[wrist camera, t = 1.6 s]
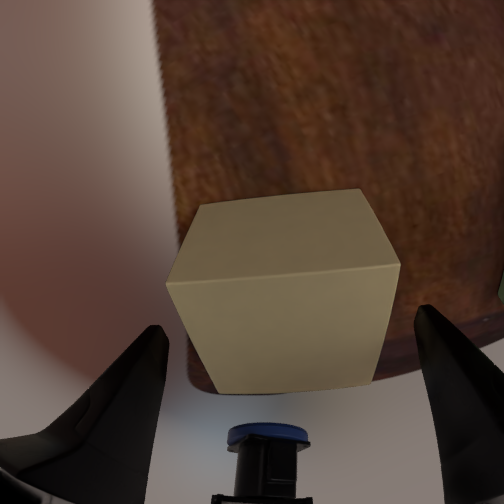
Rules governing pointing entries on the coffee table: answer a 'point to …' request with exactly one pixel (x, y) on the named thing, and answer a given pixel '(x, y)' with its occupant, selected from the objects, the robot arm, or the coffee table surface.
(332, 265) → the foam block
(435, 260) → the coffee table surface
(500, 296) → the pad
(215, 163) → the coffee table surface
